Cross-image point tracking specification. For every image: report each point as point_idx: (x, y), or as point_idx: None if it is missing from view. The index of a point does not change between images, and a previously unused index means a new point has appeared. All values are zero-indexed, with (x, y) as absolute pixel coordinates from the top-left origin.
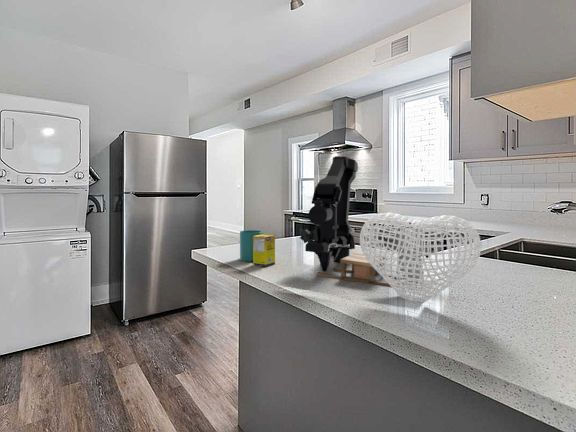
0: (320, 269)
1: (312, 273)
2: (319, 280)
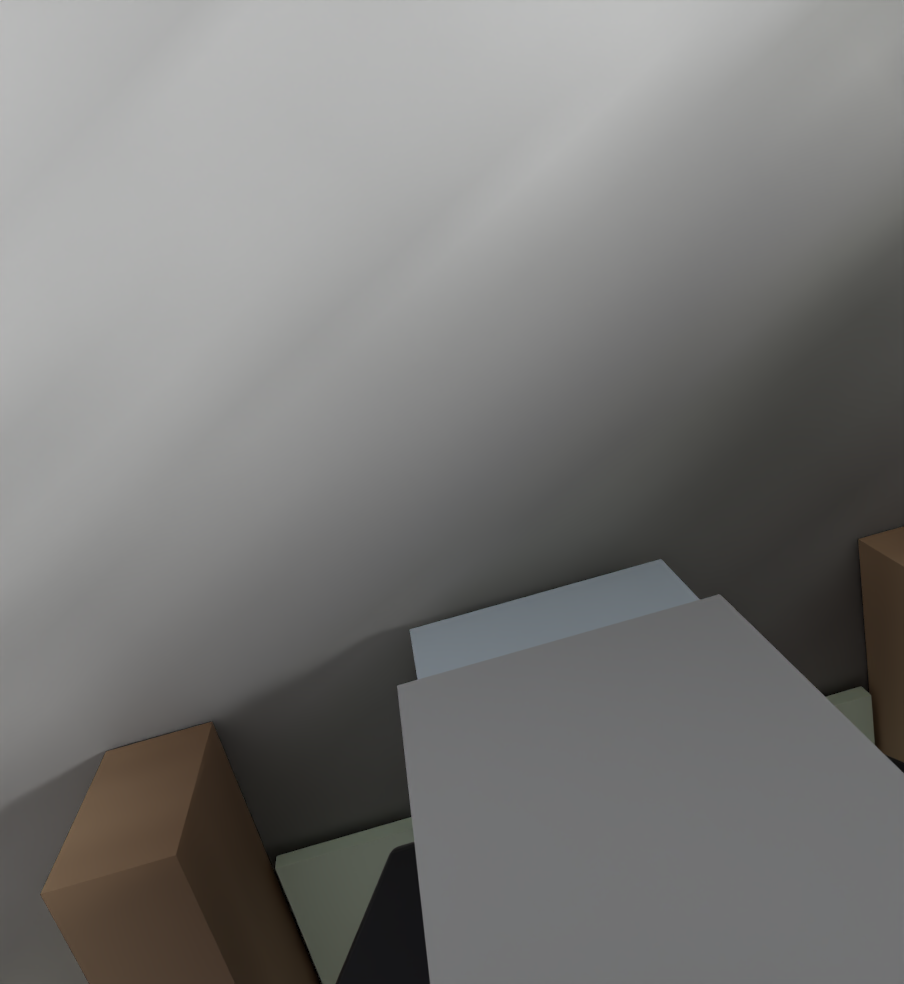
0: (410, 764)
1: (533, 176)
2: None
